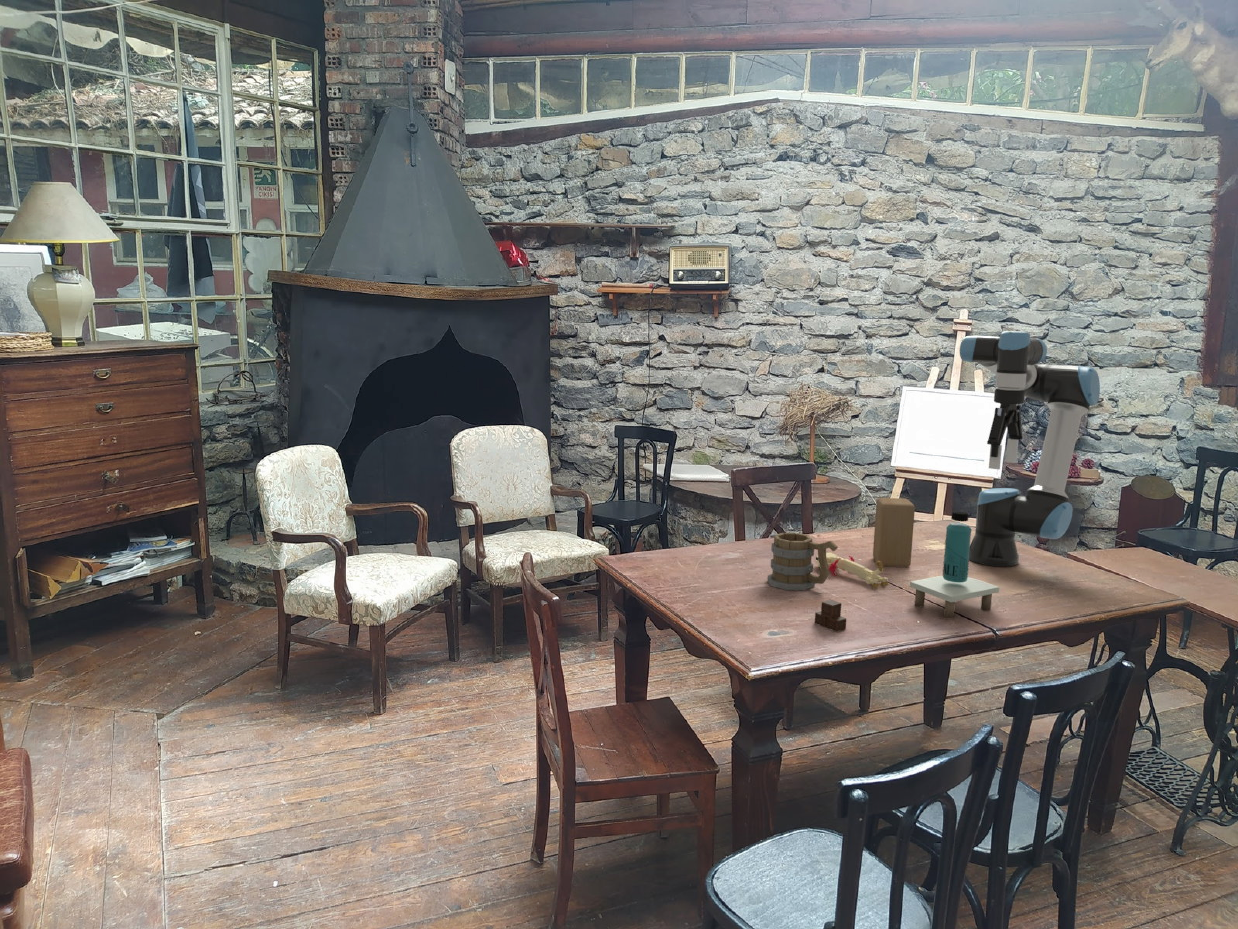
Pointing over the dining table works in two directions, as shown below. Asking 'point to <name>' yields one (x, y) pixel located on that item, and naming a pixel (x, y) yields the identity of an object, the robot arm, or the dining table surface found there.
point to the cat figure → (856, 569)
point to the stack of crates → (830, 616)
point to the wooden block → (893, 532)
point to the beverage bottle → (957, 549)
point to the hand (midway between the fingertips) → (1002, 465)
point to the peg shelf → (953, 592)
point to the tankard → (797, 561)
